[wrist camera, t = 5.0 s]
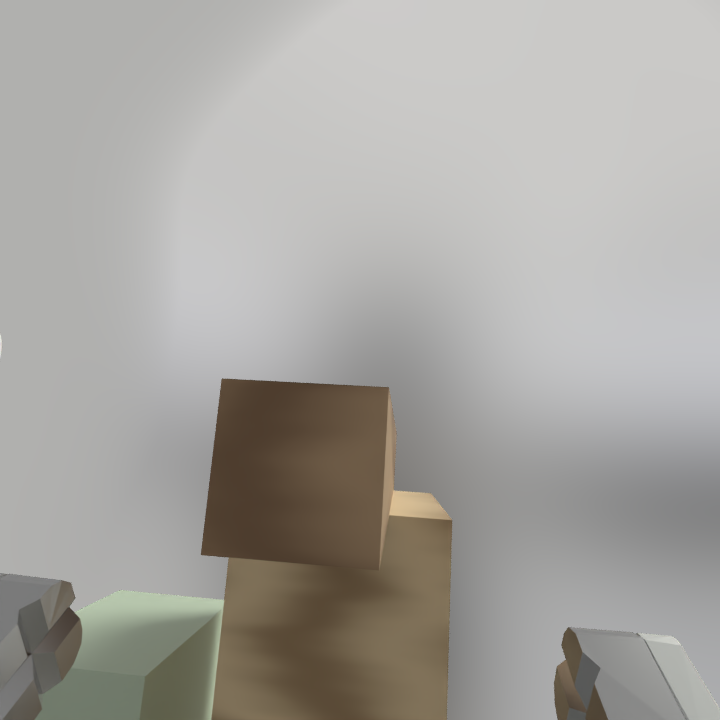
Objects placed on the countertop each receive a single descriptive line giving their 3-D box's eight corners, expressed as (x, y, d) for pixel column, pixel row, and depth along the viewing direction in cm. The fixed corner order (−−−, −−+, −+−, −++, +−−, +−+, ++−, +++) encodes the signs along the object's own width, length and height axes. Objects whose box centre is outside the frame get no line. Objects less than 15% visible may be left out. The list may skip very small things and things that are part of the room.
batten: (200, 554, 9) (222, 378, 10) (339, 485, 31) (343, 430, 32) (379, 570, 9) (389, 387, 10) (393, 489, 31) (396, 433, 31)
